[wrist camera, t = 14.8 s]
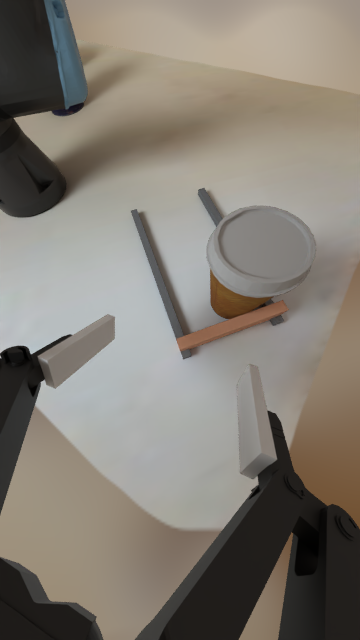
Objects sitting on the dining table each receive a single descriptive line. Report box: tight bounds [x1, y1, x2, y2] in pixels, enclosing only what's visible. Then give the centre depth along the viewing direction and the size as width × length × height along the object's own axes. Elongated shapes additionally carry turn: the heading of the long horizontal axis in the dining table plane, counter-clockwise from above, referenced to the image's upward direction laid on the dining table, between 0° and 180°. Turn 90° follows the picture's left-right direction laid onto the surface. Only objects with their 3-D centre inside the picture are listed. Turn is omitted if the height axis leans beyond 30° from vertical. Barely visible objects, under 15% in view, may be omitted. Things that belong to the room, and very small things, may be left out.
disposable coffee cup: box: [207, 206, 316, 319], centre depth 20 cm, size 10×10×12 cm
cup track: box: [131, 188, 289, 359], centre depth 27 cm, size 30×15×3 cm, turn 20°
